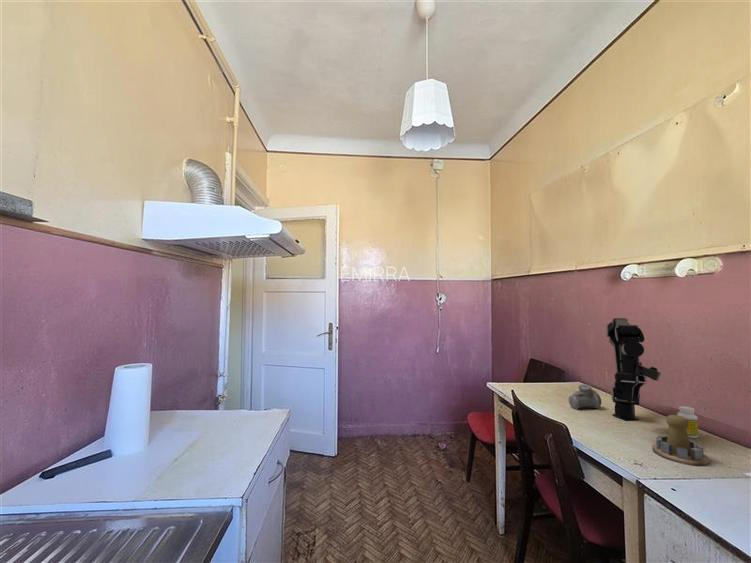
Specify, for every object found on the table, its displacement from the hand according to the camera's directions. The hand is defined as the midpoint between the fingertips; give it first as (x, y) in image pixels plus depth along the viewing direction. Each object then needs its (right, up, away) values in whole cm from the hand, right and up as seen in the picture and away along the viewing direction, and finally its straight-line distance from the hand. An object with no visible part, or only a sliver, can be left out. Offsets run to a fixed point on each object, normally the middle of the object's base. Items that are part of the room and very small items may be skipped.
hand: (632, 401), depth 120 cm
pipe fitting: (0, -14, +29) cm, 32 cm away
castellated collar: (+1, -11, -17) cm, 20 cm away
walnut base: (+1, -11, -17) cm, 20 cm away
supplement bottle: (+19, -12, -1) cm, 22 cm away
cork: (+1, -10, -17) cm, 19 cm away
